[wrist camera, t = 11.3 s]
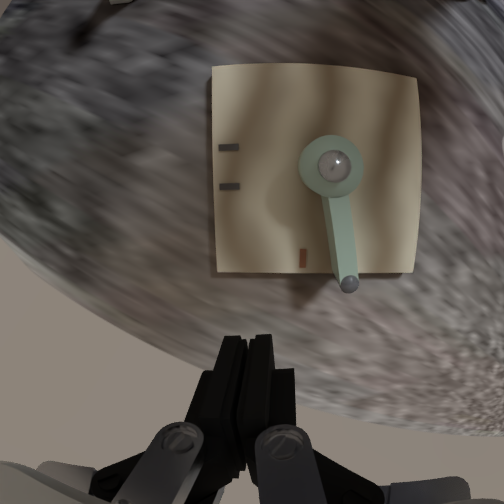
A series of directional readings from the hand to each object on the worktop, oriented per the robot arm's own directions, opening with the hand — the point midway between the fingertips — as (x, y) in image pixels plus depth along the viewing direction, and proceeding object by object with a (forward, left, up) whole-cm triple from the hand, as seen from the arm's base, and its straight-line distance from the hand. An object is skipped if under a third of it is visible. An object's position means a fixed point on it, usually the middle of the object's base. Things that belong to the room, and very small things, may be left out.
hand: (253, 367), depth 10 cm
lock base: (-5, -7, -19) cm, 21 cm away
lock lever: (-6, -3, -17) cm, 19 cm away
